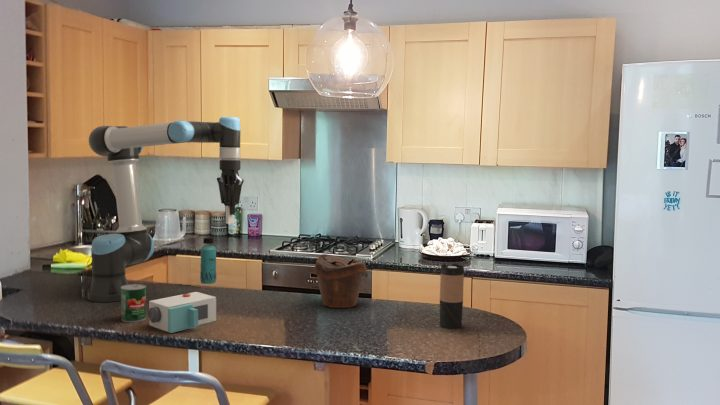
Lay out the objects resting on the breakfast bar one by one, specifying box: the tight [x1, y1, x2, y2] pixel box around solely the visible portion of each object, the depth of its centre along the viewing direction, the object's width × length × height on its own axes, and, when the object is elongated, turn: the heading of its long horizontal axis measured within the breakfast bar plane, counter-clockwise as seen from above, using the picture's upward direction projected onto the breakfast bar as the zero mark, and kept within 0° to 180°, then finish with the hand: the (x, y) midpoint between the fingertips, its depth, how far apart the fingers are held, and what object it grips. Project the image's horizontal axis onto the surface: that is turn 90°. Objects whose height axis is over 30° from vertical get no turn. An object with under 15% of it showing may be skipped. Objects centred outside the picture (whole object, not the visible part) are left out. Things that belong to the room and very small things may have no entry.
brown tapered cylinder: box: [313, 253, 369, 309], centre depth 239 cm, size 18×20×18 cm
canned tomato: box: [120, 283, 147, 323], centre depth 215 cm, size 8×8×11 cm
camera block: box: [147, 291, 217, 333], centre depth 210 cm, size 11×20×9 cm, turn 139°
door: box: [167, 304, 199, 334], centre depth 201 cm, size 4×8×8 cm, turn 139°
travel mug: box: [439, 263, 465, 329], centre depth 213 cm, size 8×8×20 cm
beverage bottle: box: [199, 237, 217, 285], centre depth 264 cm, size 6×7×20 cm
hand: (230, 223), depth 238 cm, fingers closed
